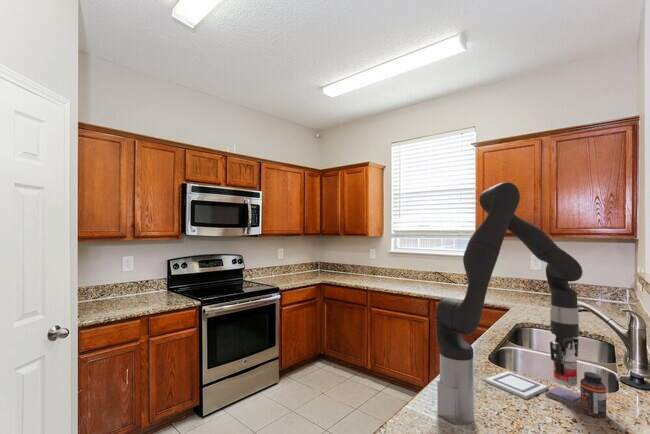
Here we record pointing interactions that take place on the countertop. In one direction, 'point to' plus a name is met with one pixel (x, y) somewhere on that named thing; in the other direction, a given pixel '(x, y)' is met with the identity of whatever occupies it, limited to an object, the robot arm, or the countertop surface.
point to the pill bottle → (568, 370)
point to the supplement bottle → (593, 395)
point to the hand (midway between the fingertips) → (565, 372)
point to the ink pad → (564, 396)
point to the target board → (516, 384)
